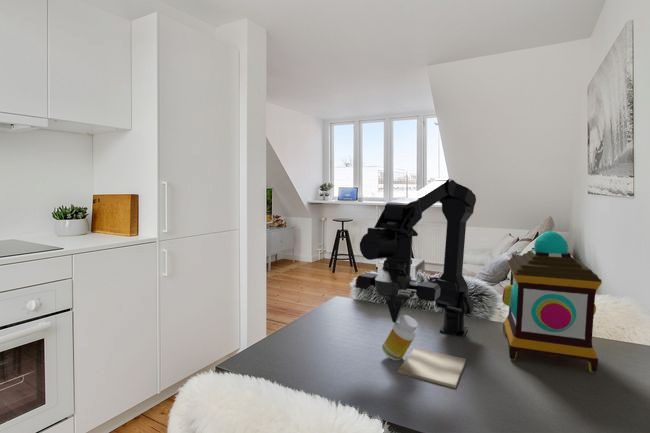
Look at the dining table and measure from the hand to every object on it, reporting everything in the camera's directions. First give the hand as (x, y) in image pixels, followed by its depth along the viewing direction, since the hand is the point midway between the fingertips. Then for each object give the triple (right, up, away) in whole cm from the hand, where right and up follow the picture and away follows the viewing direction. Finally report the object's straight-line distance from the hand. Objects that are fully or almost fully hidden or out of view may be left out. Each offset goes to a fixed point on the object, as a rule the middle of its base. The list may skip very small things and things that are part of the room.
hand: (394, 322), depth 86 cm
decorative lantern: (+38, -9, +5) cm, 39 cm away
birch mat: (+8, -9, -3) cm, 13 cm away
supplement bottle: (-1, -8, +1) cm, 8 cm away
